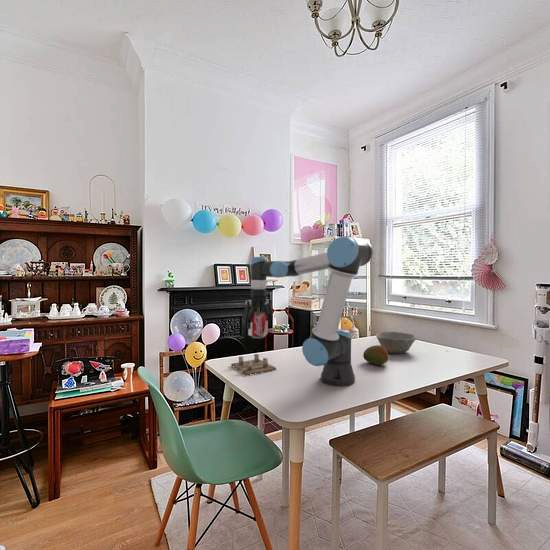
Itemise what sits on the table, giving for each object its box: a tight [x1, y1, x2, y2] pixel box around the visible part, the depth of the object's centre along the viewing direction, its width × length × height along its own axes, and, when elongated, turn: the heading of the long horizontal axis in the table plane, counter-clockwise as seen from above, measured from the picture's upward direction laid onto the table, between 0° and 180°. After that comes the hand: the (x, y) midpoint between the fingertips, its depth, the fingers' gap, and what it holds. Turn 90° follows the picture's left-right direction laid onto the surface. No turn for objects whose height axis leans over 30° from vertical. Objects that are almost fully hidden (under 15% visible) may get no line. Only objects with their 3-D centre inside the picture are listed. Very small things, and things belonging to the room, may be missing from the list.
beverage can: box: [251, 311, 267, 339], centre depth 162 cm, size 8×8×12 cm
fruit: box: [362, 344, 389, 366], centre depth 172 cm, size 12×13×10 cm
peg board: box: [230, 353, 277, 376], centre depth 166 cm, size 18×16×5 cm
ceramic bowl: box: [375, 331, 418, 355], centre depth 195 cm, size 22×23×10 cm
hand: (258, 334), depth 162 cm, fingers closed on beverage can, 8 cm apart
